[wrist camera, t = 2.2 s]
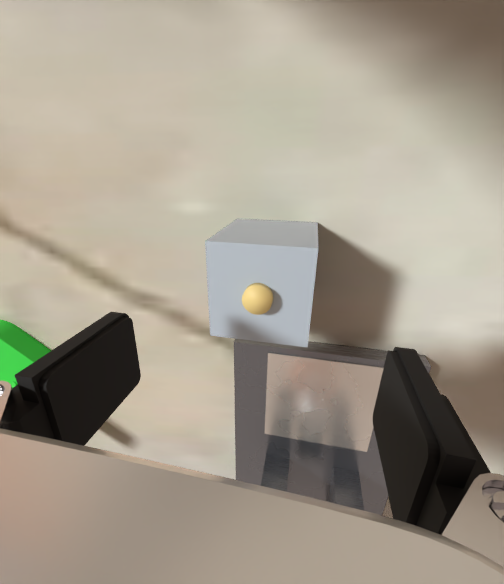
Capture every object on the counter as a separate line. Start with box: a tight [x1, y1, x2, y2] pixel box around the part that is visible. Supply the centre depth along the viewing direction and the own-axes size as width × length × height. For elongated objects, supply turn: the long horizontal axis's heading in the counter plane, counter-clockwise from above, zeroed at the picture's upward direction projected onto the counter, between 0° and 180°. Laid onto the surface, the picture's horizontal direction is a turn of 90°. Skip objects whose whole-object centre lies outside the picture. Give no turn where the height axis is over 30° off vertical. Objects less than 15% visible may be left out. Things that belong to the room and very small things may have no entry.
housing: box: [205, 219, 318, 347], centre depth 16 cm, size 5×5×6 cm
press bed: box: [234, 339, 431, 515], centre depth 19 cm, size 16×13×10 cm
